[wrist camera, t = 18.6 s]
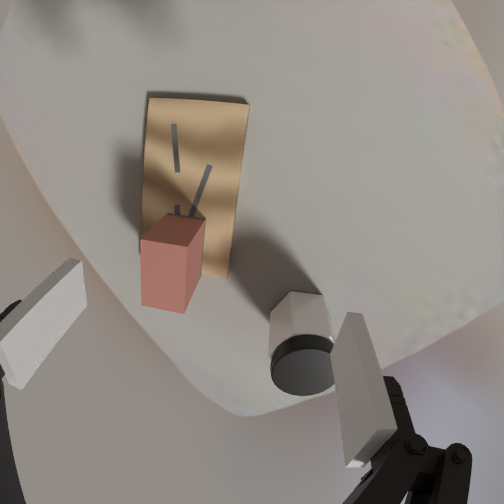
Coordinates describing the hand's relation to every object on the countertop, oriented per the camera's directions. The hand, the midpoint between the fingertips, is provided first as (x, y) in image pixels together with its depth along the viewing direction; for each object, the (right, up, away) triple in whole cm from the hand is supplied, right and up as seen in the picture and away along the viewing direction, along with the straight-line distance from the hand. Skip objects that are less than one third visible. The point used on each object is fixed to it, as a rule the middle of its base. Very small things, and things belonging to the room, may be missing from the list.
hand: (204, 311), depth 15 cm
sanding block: (-6, +4, +26) cm, 27 cm away
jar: (+9, -6, +31) cm, 33 cm away
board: (-5, +11, +24) cm, 27 cm away
